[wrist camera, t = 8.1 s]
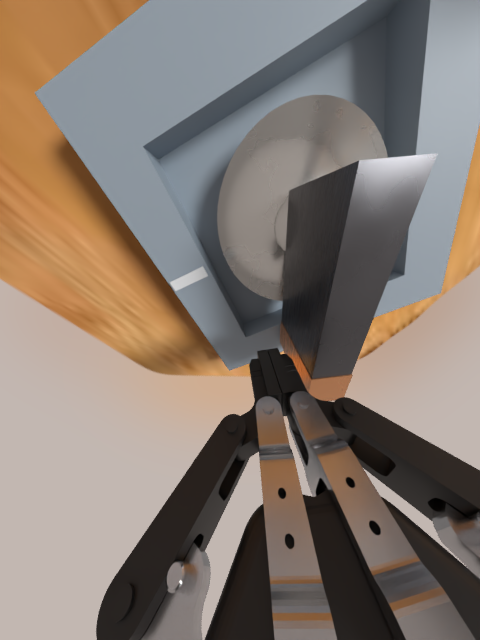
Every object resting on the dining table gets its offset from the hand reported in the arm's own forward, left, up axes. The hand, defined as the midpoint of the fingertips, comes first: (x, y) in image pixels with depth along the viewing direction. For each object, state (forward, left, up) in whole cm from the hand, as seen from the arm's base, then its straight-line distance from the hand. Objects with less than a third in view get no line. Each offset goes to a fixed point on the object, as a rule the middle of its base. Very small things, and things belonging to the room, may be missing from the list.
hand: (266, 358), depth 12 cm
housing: (-6, -7, -8) cm, 12 cm away
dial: (-5, -5, -7) cm, 10 cm away
